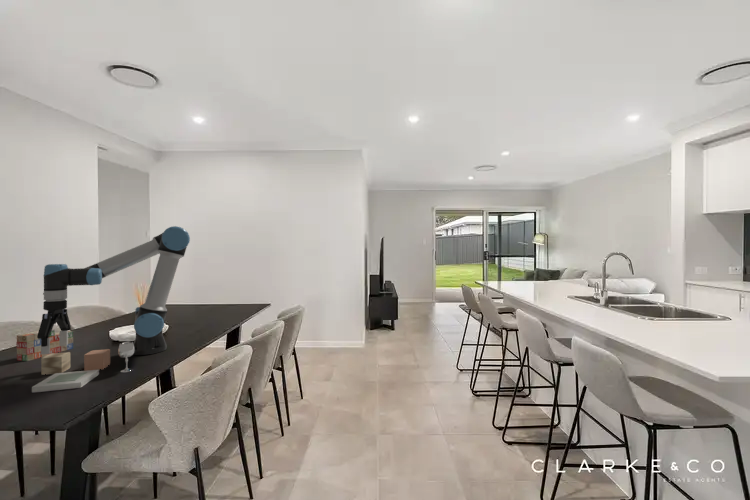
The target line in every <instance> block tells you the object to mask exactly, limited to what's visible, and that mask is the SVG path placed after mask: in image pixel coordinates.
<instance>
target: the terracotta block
mask: <svg viewBox="0 0 750 500" xmlns="http://www.w3.org/2000/svg"><path fill="white" fill-rule="evenodd" d="M83 360H84V361H83V362H84V365H83V366H84V367H83V368H84V370H83V371H88V370H99V371H100V369H101V370H105V369H106V368H108V367H109V366H110V365H111V348H110V349H109V348H106V349H94V350H90V351H88V352H87V353H84V355H83ZM108 365H109V366H108ZM104 368H105V369H104Z"/></svg>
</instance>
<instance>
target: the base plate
mask: <svg viewBox="0 0 750 500" xmlns="http://www.w3.org/2000/svg"><path fill="white" fill-rule="evenodd" d="M99 375H100V370H88V371H84V370H81V371H80V370H78V371H68V372H66V371H65V372H63V373H55V374H51V375H50V376H48V377H47V378H44V379H43V380H42V381H39V382H37V384H35V385H32V386H31V393H41V392H50V391H60V390H61V391H62V390H71V389H80V388H82V387H84V386H85V385H86V384H88V383H90V382H91V381H92V380H94V379H95V378H96V377H97V376H99Z"/></svg>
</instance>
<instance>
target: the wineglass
mask: <svg viewBox="0 0 750 500" xmlns="http://www.w3.org/2000/svg"><path fill="white" fill-rule="evenodd" d="M117 350H118V351H117V353H118V354H117V355H118V356H119V357H120V358H122V359H123V358H124V359H125V360H124V362H125V368H124V369H122V370H120V373H130V372H132V371H134V369H133V368H128V362H129V358H130V357H132V356H134V351H135V348H134V341H131V340H130V341H123V342H120V343H119V346H118V349H117ZM131 370H132V371H131Z"/></svg>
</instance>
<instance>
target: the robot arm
mask: <svg viewBox="0 0 750 500" xmlns="http://www.w3.org/2000/svg"><path fill="white" fill-rule="evenodd" d="M190 241H191V238H190V234H189V232H188V231H187V230H186V229H184V228H183V227H180V226H176V225H175V226H174V225H173V226H169V227H167V228H166V229H165V230H164V231H163V232H162V233H160V234H158V235H156V236H154V237H152V239H151V240H150V241H147V242H144V243H142V244H140V245H137V246H135V247H132V248H131V249H127V250H125V251H123V252H121V253H118V254H116V255H113V256H111V257H108V258H106V259H104V260H100V261H99V262H96V263H94V264H92V265H89V266H86V267H83V268H69V267H68V264H66V263H65V264H64V263H59V264H58V263H52V264H51V263H49V264H45V266H44V269H43V270H44V271H43V292H42V295H43V300H44V301H43V306H42V307H43V308H42V309H43V310H44V311H47V313H42V316H41V322H40V325H39V329H38V331H39V332H38V335H37V338H38V339H41V354H50V338H49V335H50V333H51V331H52V330H53V328H54V326H55V325H56V324H57V326H58V327H59V329H60V330H59V332H60V336H59V346H67V345H68V331H71V329H72V328H71V327H72V326H71V325H72V324H71V321H70V318H69V316H68V315H69V314H68V287H71V286H96V285H97V286H98V285H101V284H102V282H103V279H104V278H106V277H109V276H110V275H113V274H115V273H117V272H120V271H122V270H124V269H127V268H129V267H132V266H134V265H136V264H138V263H142V262H143V261H145V260H148V259H150V258H152V257H155V256H157V255H159V256H158V260H157V263H156V267H155V269H154V273H153V276H152V278H151V279H152V280H151V283H150V286H149V288H148V292H147V296H146V299H145V301H144V303H142V304H141V305H139V306H138V307H135V311H134V314H135V318H134V319H135V320H134V323H133V329H134V331H135V338H134V341H133V343H134V348H135V351H134V354H133V356H134V355H135V356H144V355H147V356H148V355H153V354H157V353H161V352H164V351H166V350H167V342H166V340H165V337H164V334H163V330H164V327H165V320H166V315H167V312H168V309H167V306H166V304H167V301H168V298H169V294H170V292H171V291H170V290H171V289H172V288H171V287H172V285H173V283H174V282H173V281H174V278H175V276H176V275H175V274H176V271H177V268H178V265H179V261H180V259H181V258H183V257H185V254H186V251H187V247H188V246H189V244H190Z"/></svg>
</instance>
